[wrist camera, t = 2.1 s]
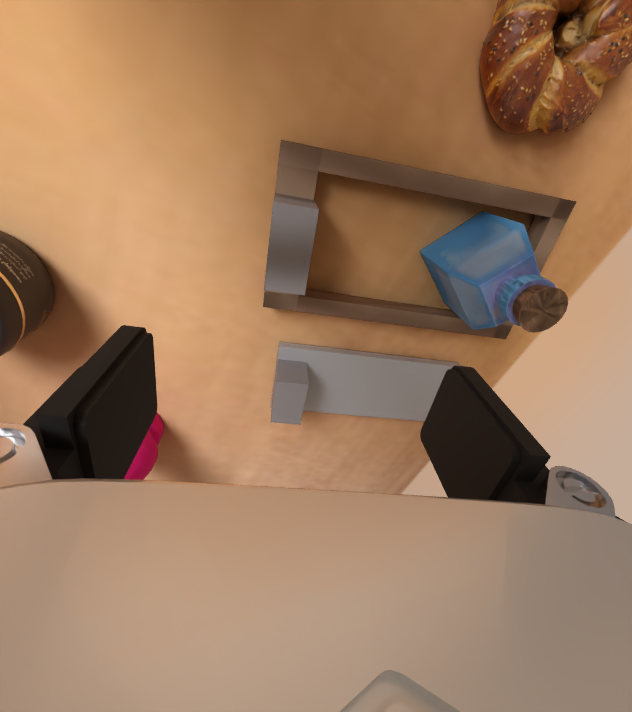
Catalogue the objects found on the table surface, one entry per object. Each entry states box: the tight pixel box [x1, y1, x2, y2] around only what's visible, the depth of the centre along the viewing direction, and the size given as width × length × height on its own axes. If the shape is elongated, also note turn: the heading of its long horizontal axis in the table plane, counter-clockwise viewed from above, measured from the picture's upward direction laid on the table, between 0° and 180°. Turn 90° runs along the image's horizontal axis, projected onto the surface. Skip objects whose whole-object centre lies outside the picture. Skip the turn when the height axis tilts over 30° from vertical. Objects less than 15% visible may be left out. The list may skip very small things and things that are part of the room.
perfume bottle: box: [420, 211, 568, 332], centre depth 28 cm, size 6×6×12 cm
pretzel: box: [480, 0, 632, 135], centre depth 23 cm, size 12×11×4 cm
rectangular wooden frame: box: [263, 140, 576, 339], centre depth 29 cm, size 13×24×7 cm, turn 80°
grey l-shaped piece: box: [271, 342, 460, 425], centre depth 37 cm, size 8×20×5 cm, turn 80°
